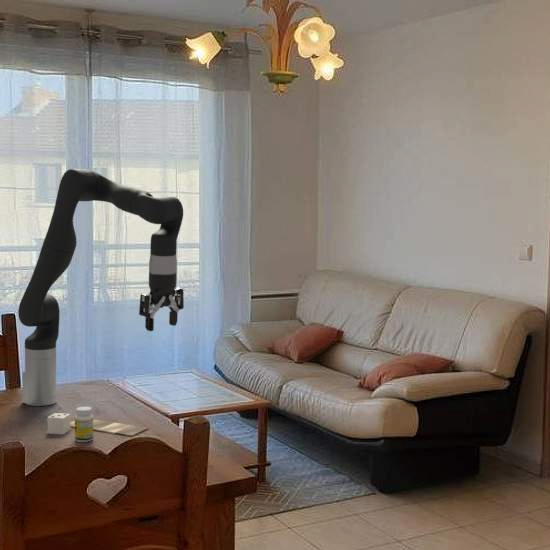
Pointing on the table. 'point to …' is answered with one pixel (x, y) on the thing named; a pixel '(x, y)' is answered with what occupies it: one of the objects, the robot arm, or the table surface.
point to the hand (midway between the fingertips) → (161, 327)
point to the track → (115, 428)
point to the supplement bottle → (83, 424)
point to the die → (58, 423)
